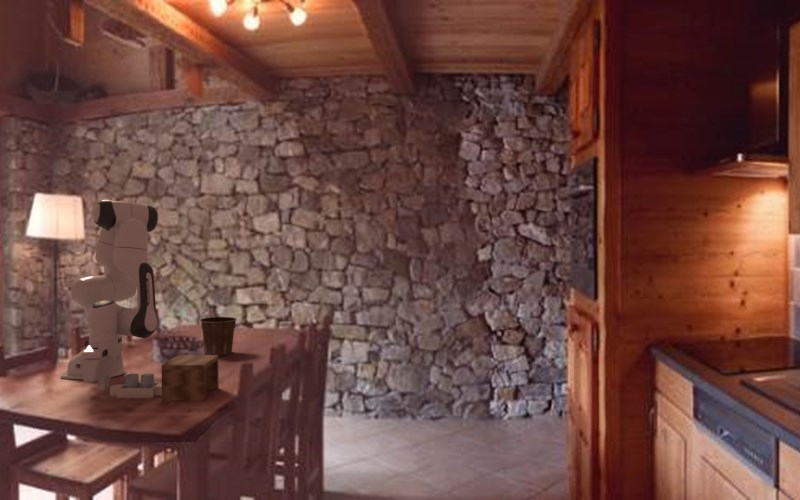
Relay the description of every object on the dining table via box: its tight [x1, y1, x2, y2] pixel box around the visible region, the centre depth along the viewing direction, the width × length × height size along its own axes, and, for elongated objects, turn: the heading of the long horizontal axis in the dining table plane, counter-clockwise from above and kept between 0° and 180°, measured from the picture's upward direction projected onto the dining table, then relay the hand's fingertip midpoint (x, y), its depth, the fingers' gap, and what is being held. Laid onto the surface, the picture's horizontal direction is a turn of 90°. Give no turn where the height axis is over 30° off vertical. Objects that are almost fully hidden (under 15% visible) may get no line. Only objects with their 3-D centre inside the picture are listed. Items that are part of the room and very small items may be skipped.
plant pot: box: [199, 316, 238, 357], centre depth 263 cm, size 16×16×16 cm
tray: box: [109, 373, 162, 399], centre depth 195 cm, size 19×8×7 cm, turn 92°
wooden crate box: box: [161, 354, 220, 402], centre depth 196 cm, size 14×16×12 cm
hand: (104, 388), depth 195 cm, fingers closed
